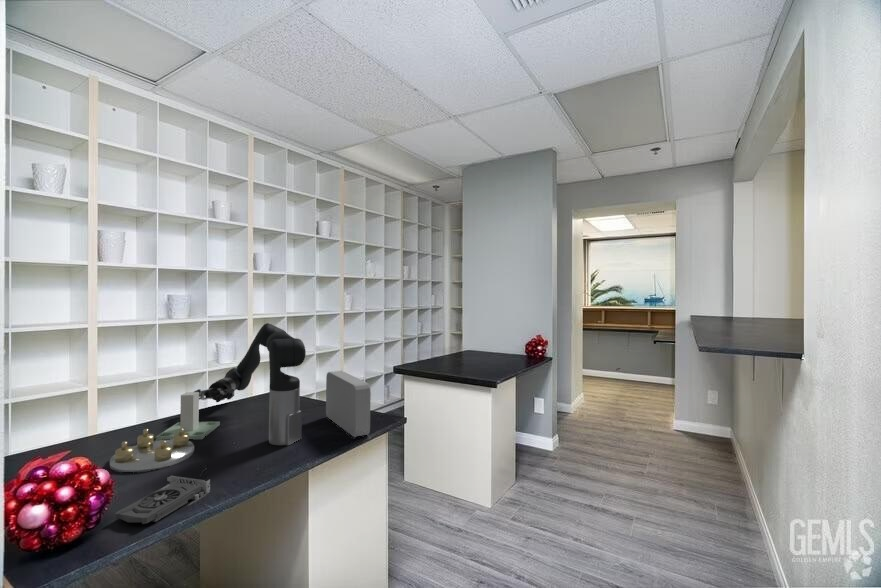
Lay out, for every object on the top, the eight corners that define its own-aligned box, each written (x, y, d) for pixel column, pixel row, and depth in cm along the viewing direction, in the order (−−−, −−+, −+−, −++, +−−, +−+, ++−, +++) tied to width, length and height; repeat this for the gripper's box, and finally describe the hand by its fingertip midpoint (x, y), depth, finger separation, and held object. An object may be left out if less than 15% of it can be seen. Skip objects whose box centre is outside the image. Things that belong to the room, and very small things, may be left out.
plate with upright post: (219, 424, 147) (220, 388, 147) (202, 439, 133) (202, 398, 133) (178, 425, 145) (178, 388, 145) (155, 440, 131) (156, 399, 131)
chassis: (205, 443, 130) (206, 422, 130) (172, 471, 110) (173, 447, 110) (137, 445, 127) (137, 424, 127) (91, 474, 107) (91, 449, 107)
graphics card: (171, 473, 103) (211, 478, 100) (171, 488, 103) (211, 493, 100) (101, 509, 86) (146, 516, 83) (101, 526, 86) (147, 534, 83)
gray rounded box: (376, 436, 139) (377, 383, 139) (355, 440, 135) (356, 386, 134) (344, 413, 162) (345, 368, 162) (325, 417, 158) (326, 370, 158)
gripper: (204, 379, 165) (184, 389, 149) (241, 379, 167) (225, 389, 151) (203, 397, 166) (183, 410, 149) (240, 397, 167) (225, 409, 151)
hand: (204, 399), depth 150 cm, fingers open, 8 cm apart
